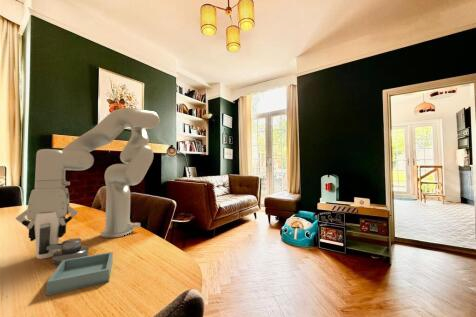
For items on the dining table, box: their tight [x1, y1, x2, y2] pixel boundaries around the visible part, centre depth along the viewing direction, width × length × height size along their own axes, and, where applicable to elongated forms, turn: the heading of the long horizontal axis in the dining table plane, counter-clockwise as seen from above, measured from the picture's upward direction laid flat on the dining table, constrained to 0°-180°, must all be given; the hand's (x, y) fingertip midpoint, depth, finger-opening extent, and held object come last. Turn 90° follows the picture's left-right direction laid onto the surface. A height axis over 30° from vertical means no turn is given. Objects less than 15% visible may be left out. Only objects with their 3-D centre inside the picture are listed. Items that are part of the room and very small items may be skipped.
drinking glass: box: [34, 212, 61, 260], centre depth 68 cm, size 7×7×15 cm
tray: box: [45, 251, 114, 297], centre depth 55 cm, size 12×12×3 cm
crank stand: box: [51, 245, 89, 267], centre depth 68 cm, size 16×9×3 cm, turn 38°
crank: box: [39, 223, 82, 255], centre depth 65 cm, size 11×5×9 cm, turn 112°
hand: (47, 237), depth 68 cm, fingers closed on drinking glass, 6 cm apart
